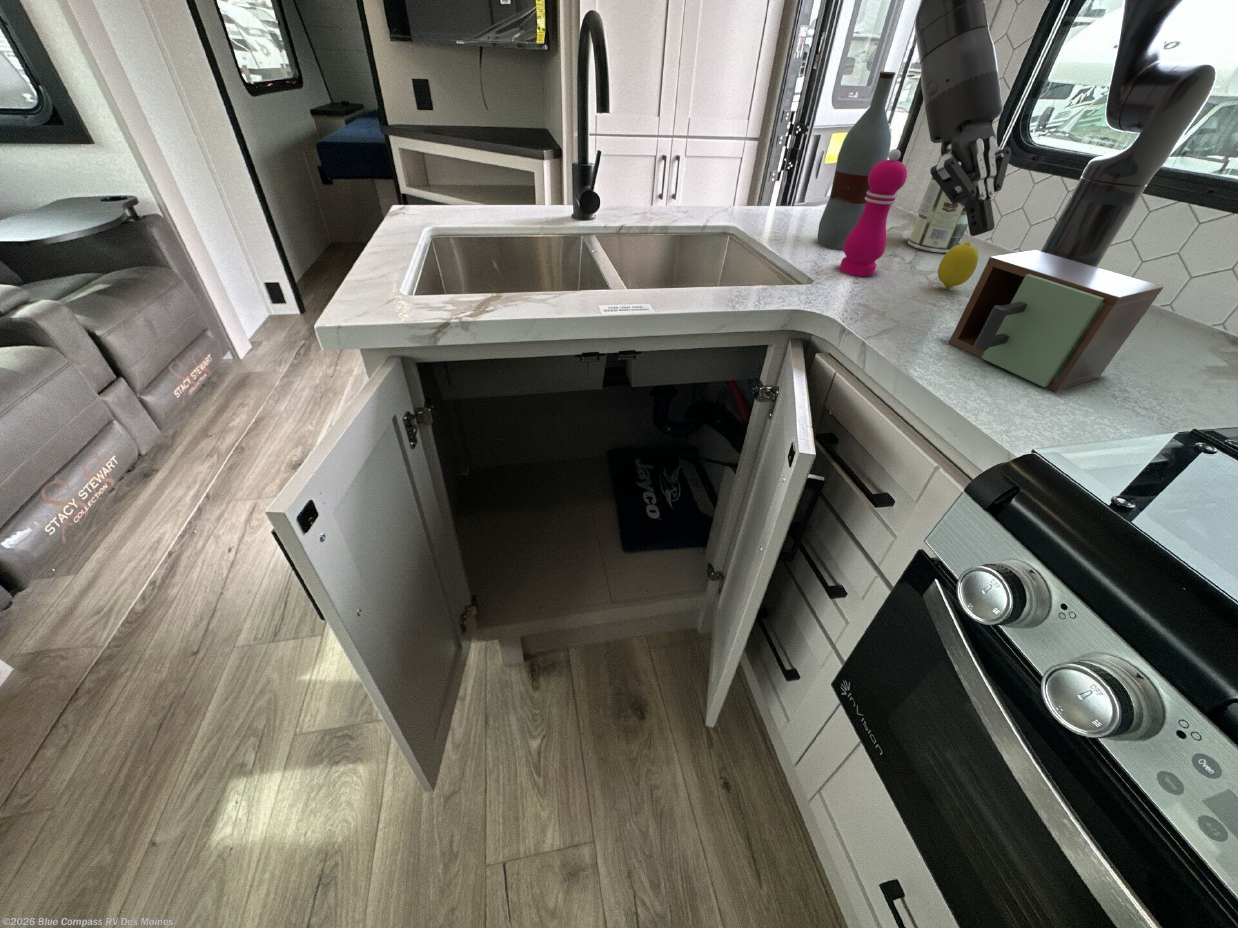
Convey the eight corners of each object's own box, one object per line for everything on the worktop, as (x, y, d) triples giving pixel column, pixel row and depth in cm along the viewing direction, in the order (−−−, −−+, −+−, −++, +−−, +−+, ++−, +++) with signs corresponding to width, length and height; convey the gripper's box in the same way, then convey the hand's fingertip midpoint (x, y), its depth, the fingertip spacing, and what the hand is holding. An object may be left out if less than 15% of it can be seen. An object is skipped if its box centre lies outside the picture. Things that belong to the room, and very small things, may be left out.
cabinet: (1055, 392, 63) (1119, 297, 56) (948, 342, 74) (989, 256, 66) (1099, 377, 67) (1164, 286, 60) (991, 332, 77) (1034, 249, 70)
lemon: (968, 296, 90) (991, 248, 85) (935, 292, 90) (955, 245, 85) (958, 285, 94) (980, 239, 89) (927, 282, 95) (946, 236, 90)
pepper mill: (857, 279, 94) (899, 153, 81) (828, 267, 99) (864, 146, 86) (884, 275, 97) (929, 152, 84) (854, 263, 102) (893, 146, 89)
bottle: (856, 241, 114) (910, 73, 96) (861, 253, 107) (921, 74, 89) (813, 236, 116) (857, 70, 97) (815, 247, 109) (864, 70, 90)
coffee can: (943, 241, 118) (972, 172, 109) (966, 254, 110) (999, 181, 101) (899, 238, 118) (925, 169, 109) (919, 252, 110) (948, 178, 101)
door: (1018, 396, 61) (1074, 305, 54) (955, 365, 67) (999, 279, 60) (1047, 386, 64) (1105, 298, 57) (984, 357, 69) (1029, 274, 62)
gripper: (957, 71, 56) (982, 231, 60) (1025, 65, 61) (1045, 213, 64) (895, 110, 63) (921, 252, 66) (962, 102, 68) (983, 234, 71)
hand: (982, 233), depth 65 cm, fingers closed
